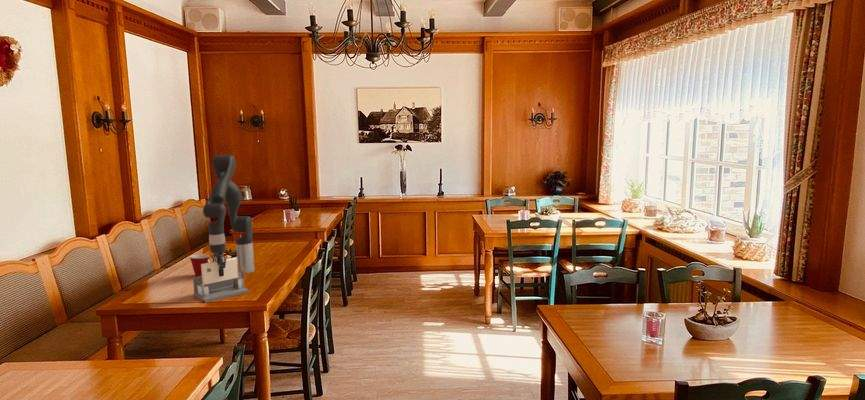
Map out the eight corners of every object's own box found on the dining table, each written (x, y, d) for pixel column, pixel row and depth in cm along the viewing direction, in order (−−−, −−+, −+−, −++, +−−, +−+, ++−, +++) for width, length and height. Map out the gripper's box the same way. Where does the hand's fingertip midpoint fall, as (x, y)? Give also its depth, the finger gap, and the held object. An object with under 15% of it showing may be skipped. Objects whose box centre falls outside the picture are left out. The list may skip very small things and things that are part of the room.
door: (202, 283, 263) (200, 264, 262) (235, 276, 275) (234, 257, 273) (205, 285, 260) (203, 265, 259) (239, 277, 272) (237, 259, 270)
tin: (246, 281, 290) (245, 266, 289) (243, 283, 287) (242, 268, 286) (220, 281, 292) (219, 266, 291) (217, 283, 289) (216, 268, 287)
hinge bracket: (194, 295, 268) (192, 277, 266) (236, 286, 282) (235, 268, 281) (205, 302, 256) (203, 283, 254) (249, 292, 270) (247, 274, 269)
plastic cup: (214, 274, 306) (212, 254, 304) (195, 279, 298) (194, 258, 296) (206, 271, 313) (204, 252, 311) (188, 275, 305) (186, 255, 303)
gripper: (230, 243, 263) (232, 276, 265) (219, 239, 273) (222, 271, 275) (215, 245, 258) (217, 279, 260) (204, 241, 268) (207, 274, 270)
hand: (220, 275), depth 268 cm, fingers closed on door, 3 cm apart
